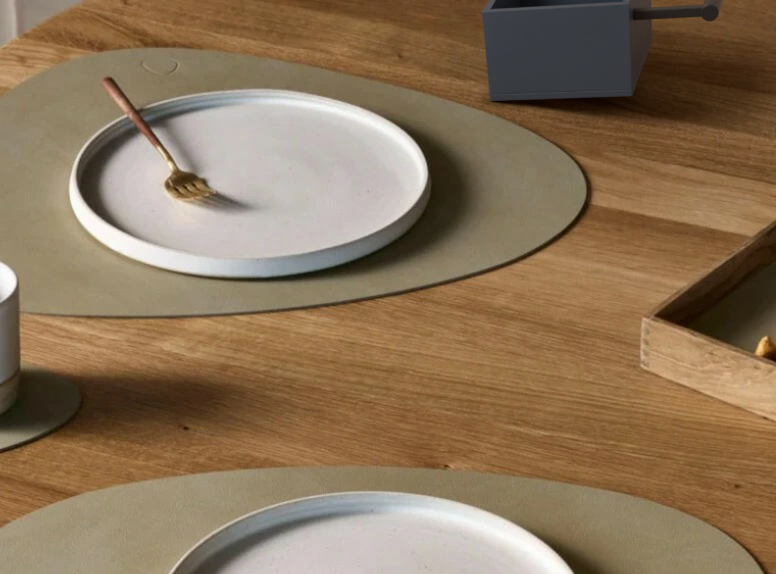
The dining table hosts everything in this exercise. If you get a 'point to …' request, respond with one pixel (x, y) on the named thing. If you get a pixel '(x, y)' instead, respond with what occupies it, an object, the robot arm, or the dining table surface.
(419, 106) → the dining table surface
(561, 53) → the handled storage bin
